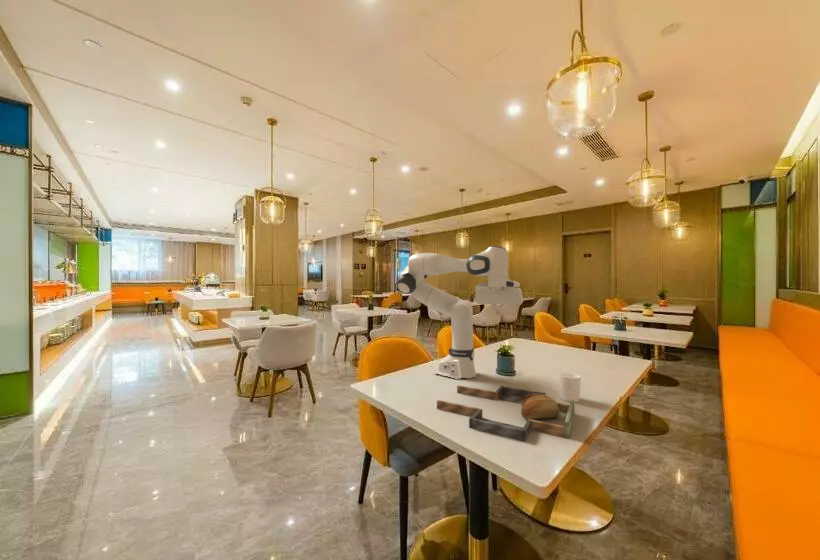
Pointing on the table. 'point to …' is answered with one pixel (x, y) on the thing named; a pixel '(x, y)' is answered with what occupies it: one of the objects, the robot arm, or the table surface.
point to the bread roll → (539, 407)
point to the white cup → (570, 386)
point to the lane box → (503, 428)
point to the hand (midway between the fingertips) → (498, 314)
